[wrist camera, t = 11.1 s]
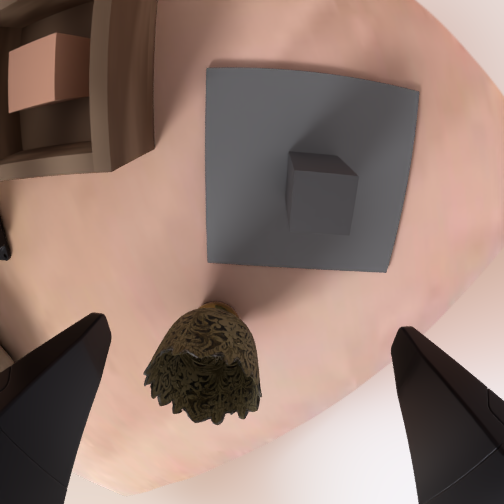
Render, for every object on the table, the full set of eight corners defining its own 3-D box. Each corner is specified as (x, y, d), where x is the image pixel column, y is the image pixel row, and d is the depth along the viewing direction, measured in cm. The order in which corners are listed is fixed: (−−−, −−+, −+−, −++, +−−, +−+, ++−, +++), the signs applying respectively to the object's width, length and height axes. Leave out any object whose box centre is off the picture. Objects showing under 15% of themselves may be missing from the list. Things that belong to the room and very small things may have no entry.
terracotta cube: (46, 105, 16) (8, 113, 12) (47, 52, 14) (9, 51, 10) (91, 96, 16) (54, 100, 12) (92, 39, 14) (56, 32, 10)
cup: (236, 262, 22) (221, 342, 15) (280, 332, 25) (280, 413, 18) (155, 296, 24) (120, 370, 17) (204, 355, 27) (187, 430, 20)
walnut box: (24, 160, 19) (-28, 185, 14) (22, 22, 13) (-30, 18, 8) (154, 148, 18) (111, 171, 13) (159, -21, 13) (119, -55, 7)
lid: (210, 255, 23) (192, 306, 17) (209, 69, 16) (183, 58, 11) (382, 265, 22) (408, 315, 17) (412, 91, 16) (461, 94, 11)
